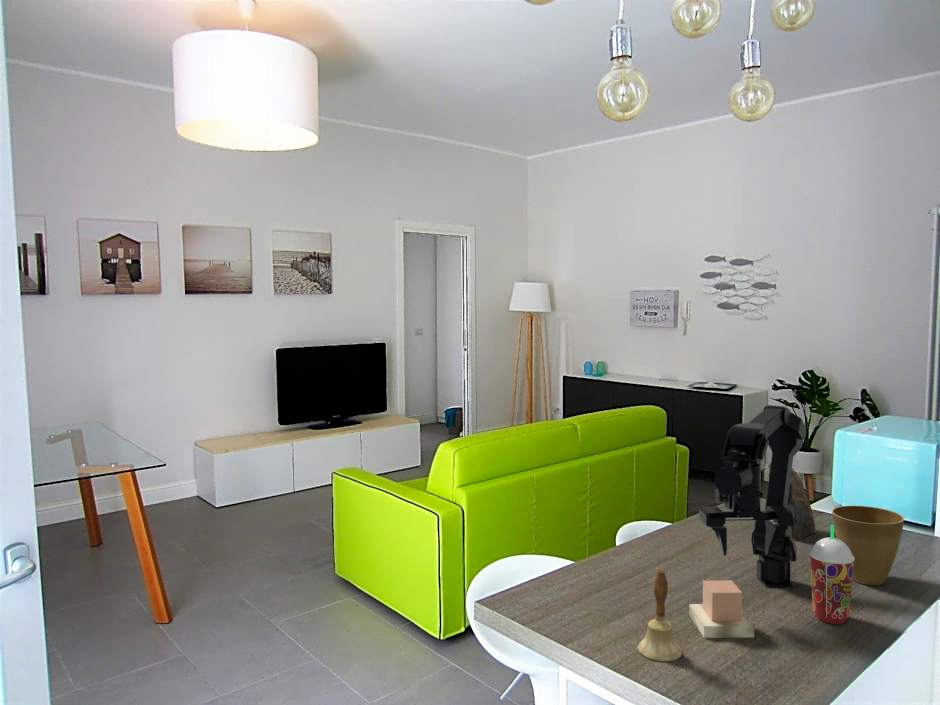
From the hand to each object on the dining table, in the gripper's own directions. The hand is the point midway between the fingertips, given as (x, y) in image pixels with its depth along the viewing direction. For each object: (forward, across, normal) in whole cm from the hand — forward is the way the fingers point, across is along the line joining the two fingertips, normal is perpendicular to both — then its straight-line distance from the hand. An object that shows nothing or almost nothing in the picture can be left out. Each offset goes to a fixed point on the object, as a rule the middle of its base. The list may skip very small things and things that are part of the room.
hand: (745, 554), depth 150 cm
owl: (+12, -31, -48) cm, 58 cm away
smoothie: (+12, -16, +5) cm, 21 cm away
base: (+13, +8, +8) cm, 17 cm away
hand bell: (+12, +23, +18) cm, 32 cm away
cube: (+10, +8, +8) cm, 15 cm away
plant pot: (+12, -34, -15) cm, 39 cm away
